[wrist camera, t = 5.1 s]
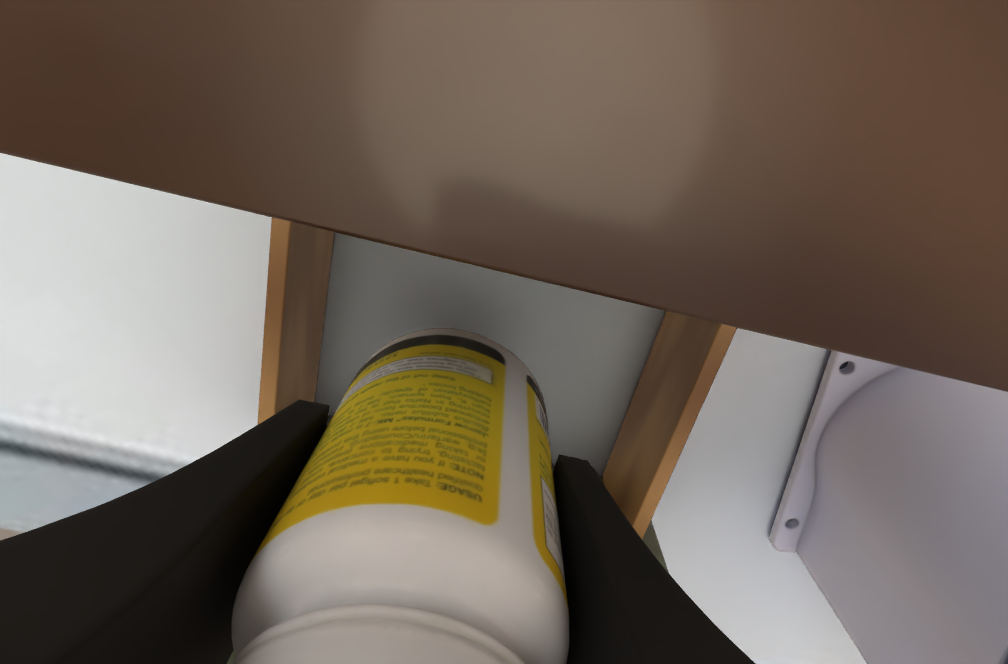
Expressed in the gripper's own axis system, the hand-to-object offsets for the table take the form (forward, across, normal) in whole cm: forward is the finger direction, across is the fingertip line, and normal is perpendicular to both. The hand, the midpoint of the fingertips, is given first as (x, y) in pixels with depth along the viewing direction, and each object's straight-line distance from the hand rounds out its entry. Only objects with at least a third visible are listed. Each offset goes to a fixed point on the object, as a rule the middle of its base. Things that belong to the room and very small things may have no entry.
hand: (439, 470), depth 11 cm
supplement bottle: (+2, 0, 0) cm, 2 cm away
